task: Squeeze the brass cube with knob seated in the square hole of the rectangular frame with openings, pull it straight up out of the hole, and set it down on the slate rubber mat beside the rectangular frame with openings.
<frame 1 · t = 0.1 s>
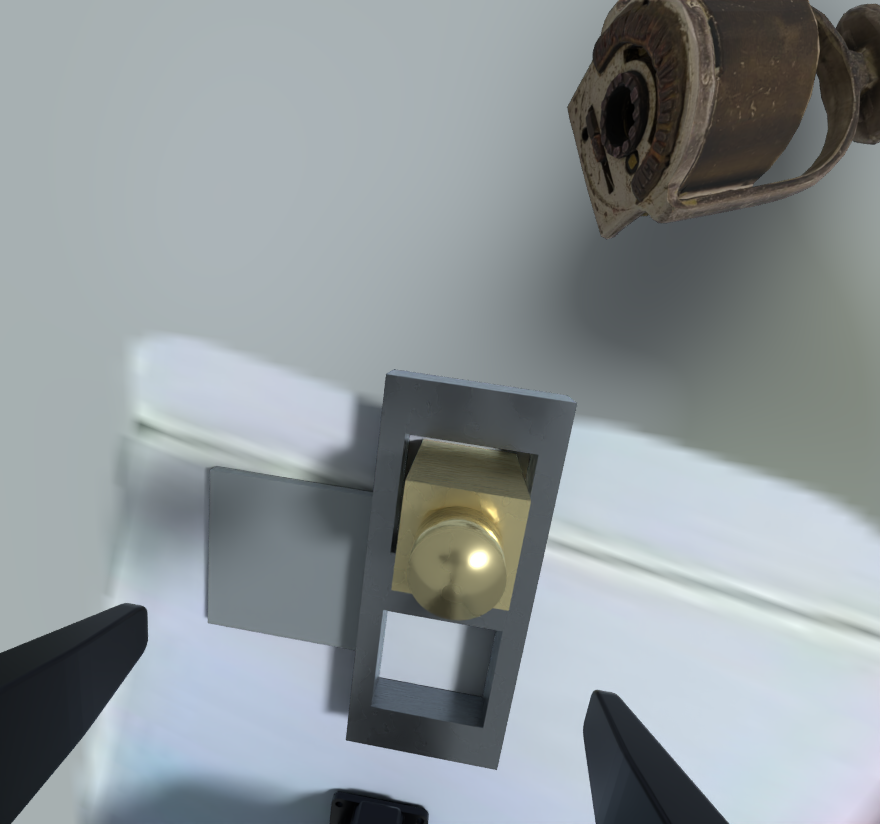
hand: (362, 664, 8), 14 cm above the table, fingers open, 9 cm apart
brown piece: (704, 145, 19), on the table
mat: (296, 558, 24), on the table
brass cube with knob: (462, 489, 23), resting in rectangular frame with openings
rectangular frame with openings: (449, 570, 24), on the table
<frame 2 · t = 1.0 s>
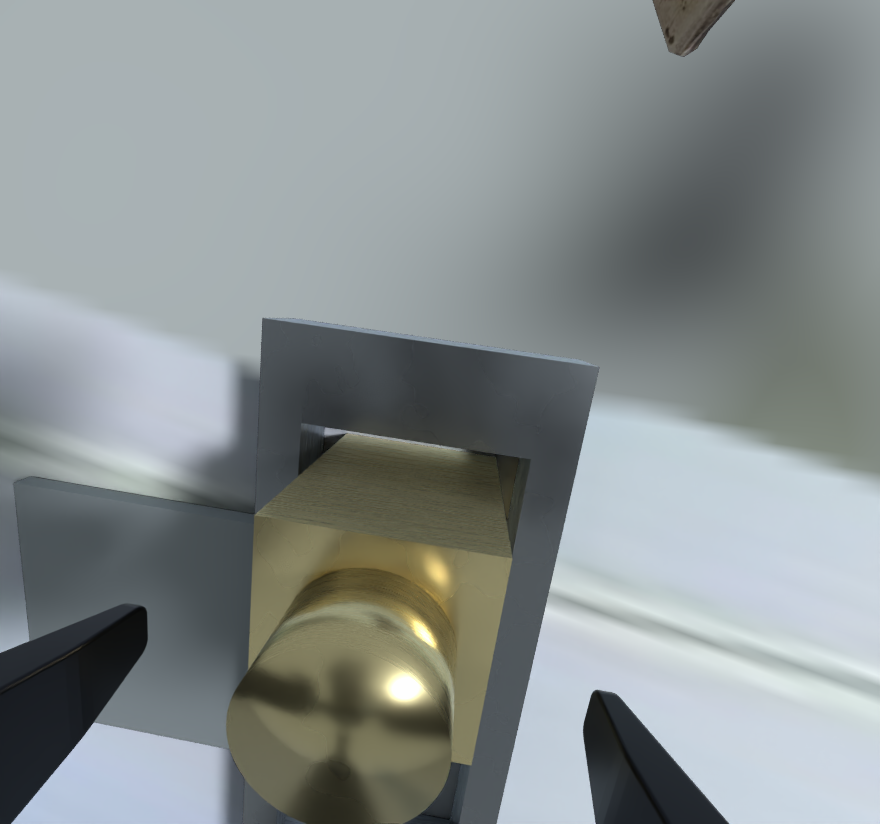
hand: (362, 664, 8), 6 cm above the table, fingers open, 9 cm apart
mat: (163, 617, 16), on the table
brass cube with knob: (411, 513, 14), resting in rectangular frame with openings
rectangular frame with openings: (395, 637, 15), on the table
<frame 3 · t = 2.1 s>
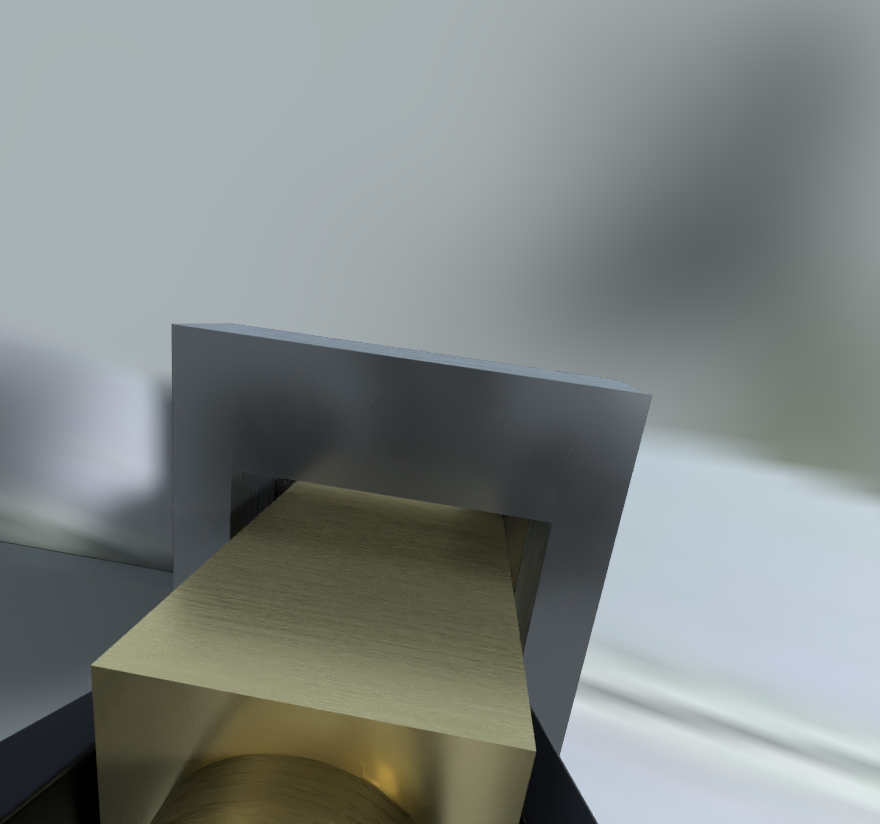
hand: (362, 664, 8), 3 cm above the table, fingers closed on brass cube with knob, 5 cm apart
mat: (81, 699, 13), on the table
brass cube with knob: (390, 576, 11), resting in rectangular frame with openings, touching gripper
rectangular frame with openings: (371, 728, 12), on the table
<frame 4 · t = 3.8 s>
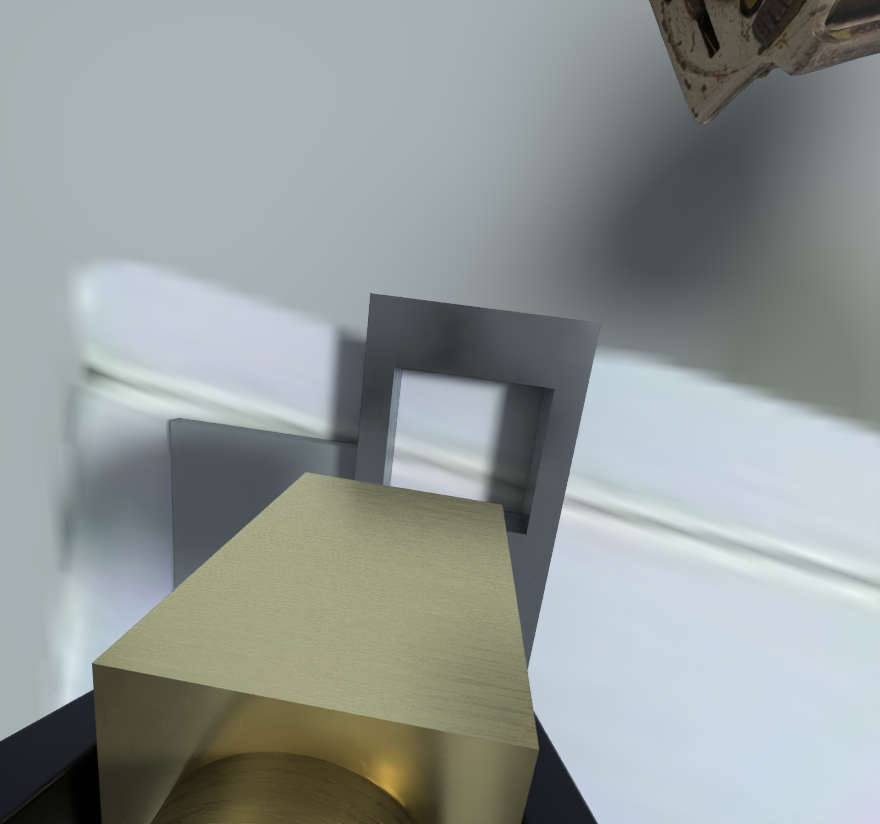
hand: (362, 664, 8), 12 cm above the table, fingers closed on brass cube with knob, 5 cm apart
brown piece: (810, 0, 15), on the table
mat: (274, 525, 21), on the table
brass cube with knob: (391, 575, 11), point 9 cm above the table, touching gripper
rectangular frame with openings: (450, 535, 21), on the table
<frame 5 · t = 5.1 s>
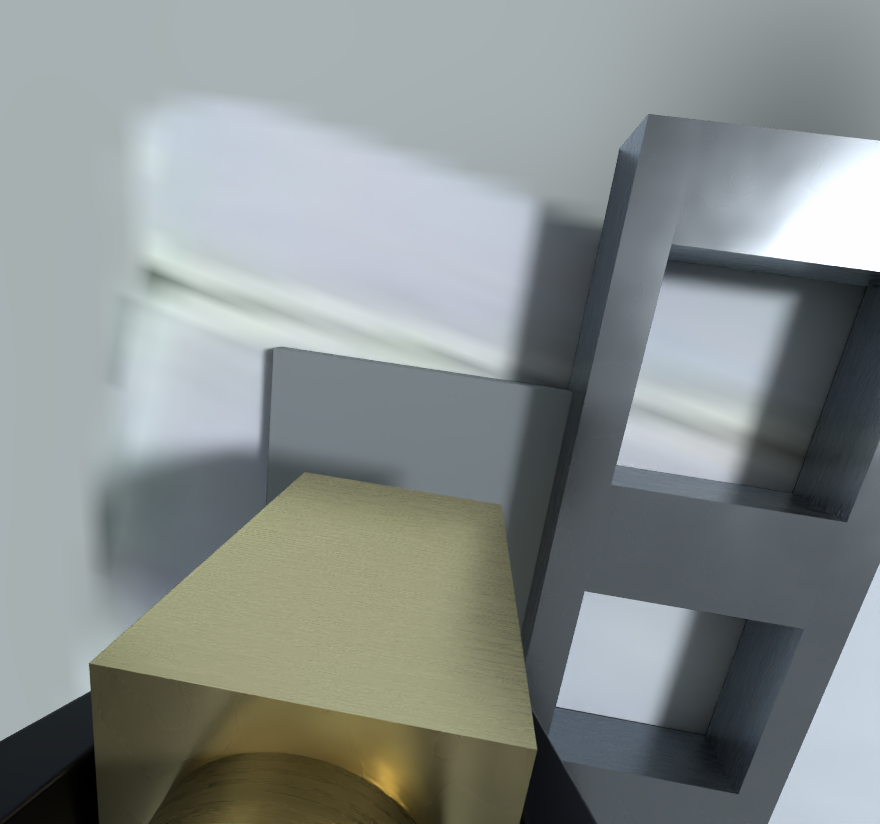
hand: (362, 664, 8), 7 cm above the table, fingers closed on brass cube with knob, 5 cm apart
mat: (411, 508, 15), on the table
brass cube with knob: (390, 575, 11), point 4 cm above the table, touching gripper
rectangular frame with openings: (677, 525, 14), on the table
when the fingers open (5 cm above the table, at t = 5.8 s): brass cube with knob drops 1 cm, resting on mat.
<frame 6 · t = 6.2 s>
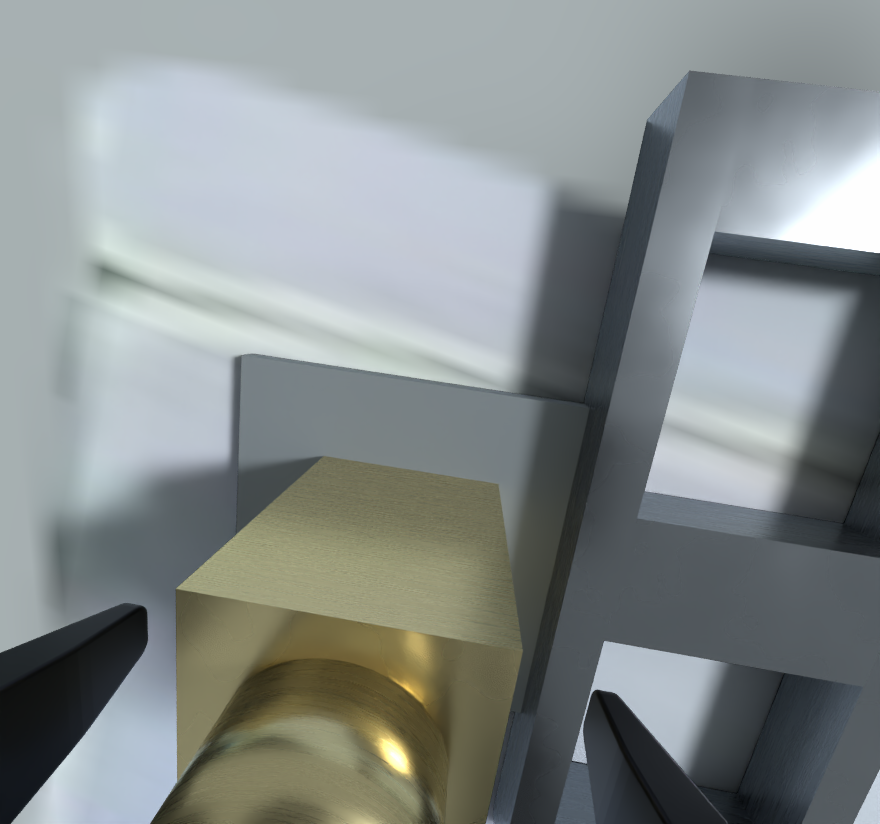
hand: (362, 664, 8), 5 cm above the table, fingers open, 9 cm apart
mat: (402, 538, 13), on the table
brass cube with knob: (400, 548, 12), point 1 cm above the table, touching mat
rectangular frame with openings: (708, 559, 12), on the table
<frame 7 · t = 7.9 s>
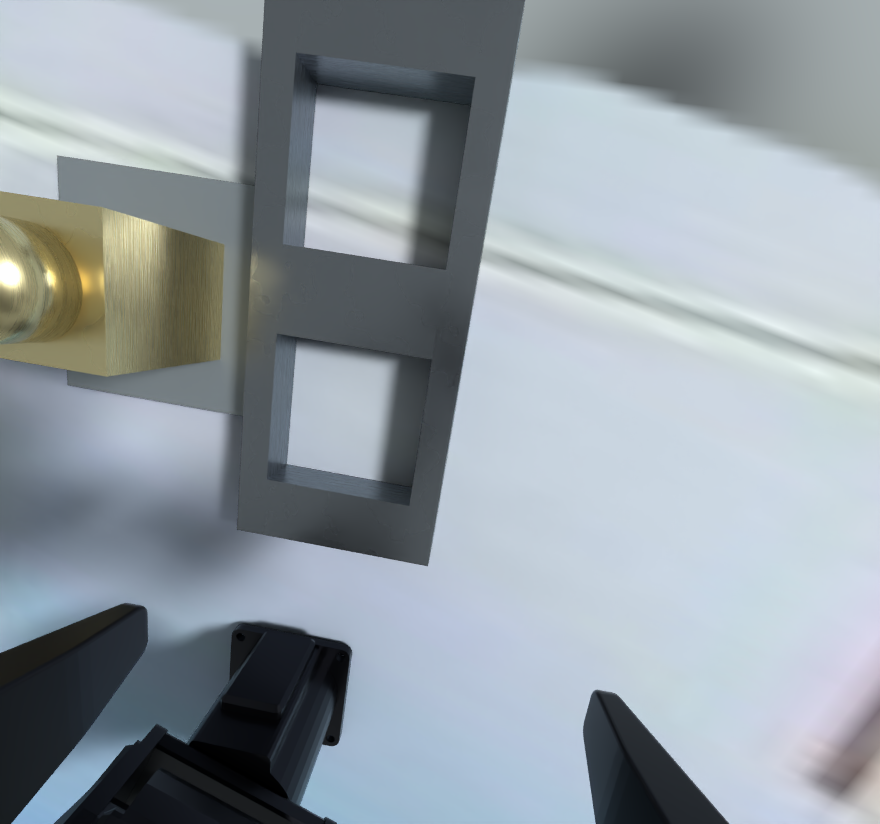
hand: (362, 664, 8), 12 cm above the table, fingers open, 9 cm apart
mat: (177, 295, 19), on the table
brass cube with knob: (168, 294, 18), point 1 cm above the table, touching mat
rectangular frame with openings: (370, 304, 18), on the table
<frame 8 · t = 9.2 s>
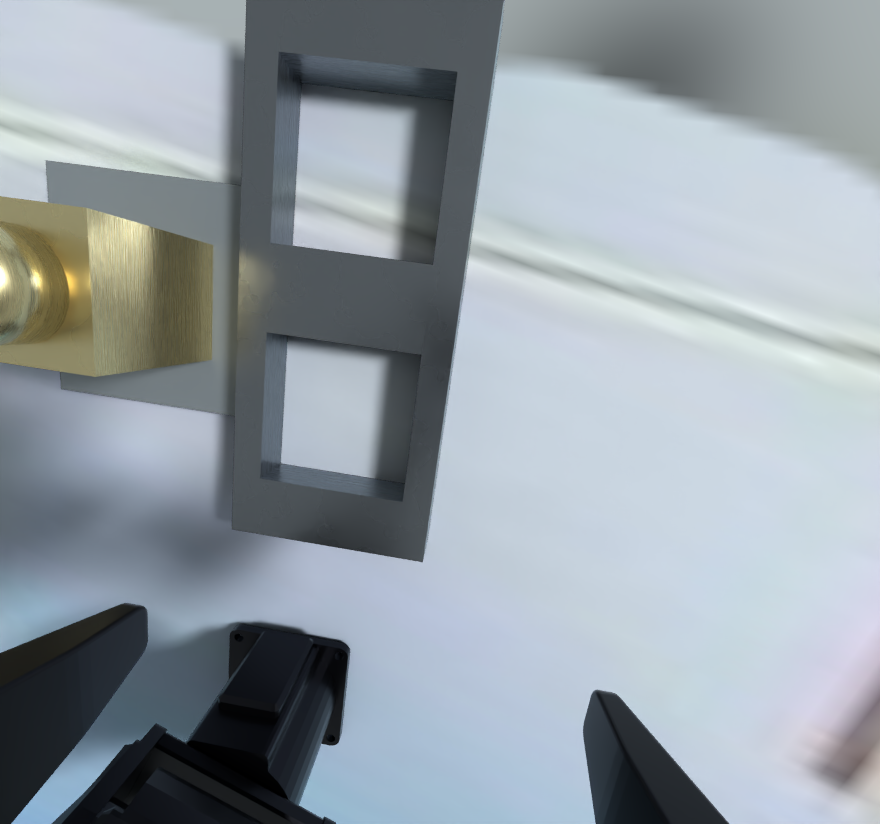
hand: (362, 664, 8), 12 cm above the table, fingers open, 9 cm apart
mat: (168, 297, 19), on the table
brass cube with knob: (159, 296, 19), point 1 cm above the table, touching mat
rectangular frame with openings: (360, 301, 18), on the table
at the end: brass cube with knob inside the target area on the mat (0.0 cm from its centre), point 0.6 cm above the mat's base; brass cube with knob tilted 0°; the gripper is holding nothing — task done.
